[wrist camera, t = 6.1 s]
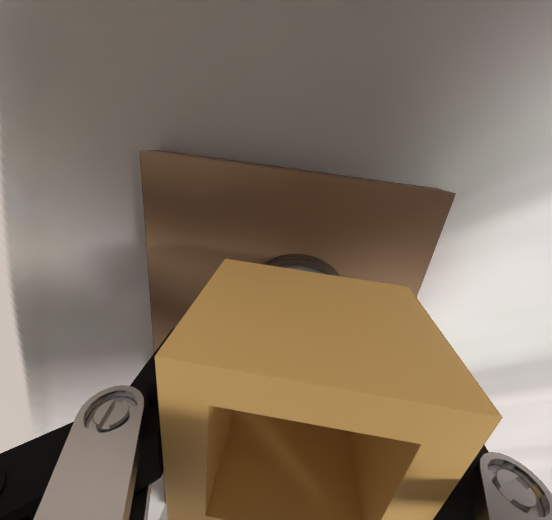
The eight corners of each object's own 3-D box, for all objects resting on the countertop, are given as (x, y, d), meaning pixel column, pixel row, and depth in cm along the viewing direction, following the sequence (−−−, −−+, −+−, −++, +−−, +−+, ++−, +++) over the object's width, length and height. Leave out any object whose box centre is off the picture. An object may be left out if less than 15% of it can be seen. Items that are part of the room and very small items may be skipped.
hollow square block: (225, 258, 9) (154, 356, 5) (408, 287, 9) (502, 417, 4) (218, 388, 11) (168, 527, 7) (362, 414, 11) (395, 575, 7)
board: (157, 150, 13) (139, 150, 11) (438, 188, 12) (455, 193, 11) (174, 499, 24) (166, 521, 22) (319, 526, 23) (320, 550, 22)
